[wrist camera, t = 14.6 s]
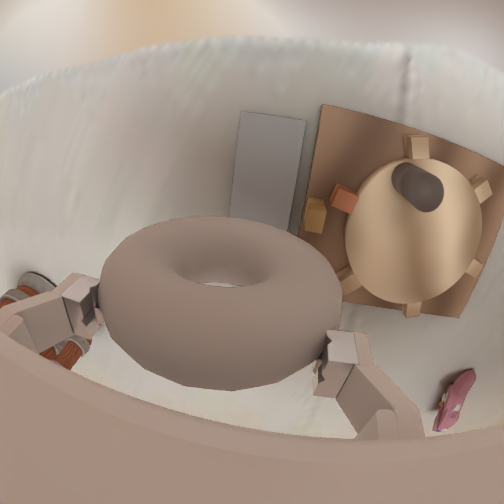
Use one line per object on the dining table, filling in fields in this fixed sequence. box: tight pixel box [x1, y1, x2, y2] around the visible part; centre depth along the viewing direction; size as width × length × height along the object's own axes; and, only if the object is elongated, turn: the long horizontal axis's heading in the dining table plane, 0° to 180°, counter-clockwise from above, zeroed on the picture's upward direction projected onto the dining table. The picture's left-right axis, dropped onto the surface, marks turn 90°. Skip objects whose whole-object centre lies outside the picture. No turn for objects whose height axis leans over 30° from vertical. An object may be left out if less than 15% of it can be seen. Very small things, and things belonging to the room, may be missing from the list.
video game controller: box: [433, 370, 476, 432], centre depth 30 cm, size 10×5×7 cm, turn 12°
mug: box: [0, 273, 92, 370], centre depth 30 cm, size 14×19×15 cm
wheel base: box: [298, 104, 504, 318], centre depth 21 cm, size 19×16×4 cm
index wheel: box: [329, 135, 492, 318], centre depth 19 cm, size 15×15×6 cm
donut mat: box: [229, 111, 306, 231], centre depth 24 cm, size 5×13×1 cm, turn 173°
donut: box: [98, 216, 343, 391], centre depth 12 cm, size 10×4×10 cm, turn 84°
